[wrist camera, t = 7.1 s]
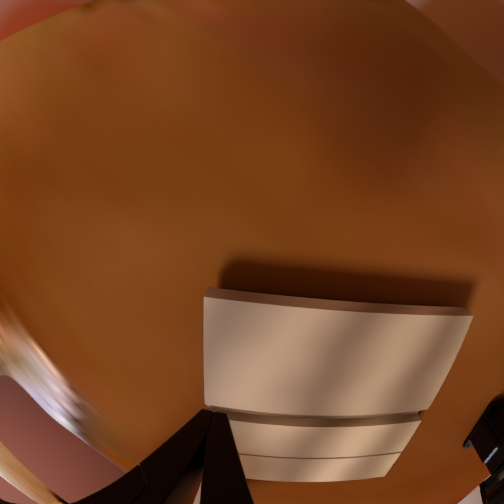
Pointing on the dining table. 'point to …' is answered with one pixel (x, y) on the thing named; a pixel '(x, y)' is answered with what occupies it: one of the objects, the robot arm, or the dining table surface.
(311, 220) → the dining table surface
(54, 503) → the sculpture
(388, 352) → the plank
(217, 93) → the dining table surface
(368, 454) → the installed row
